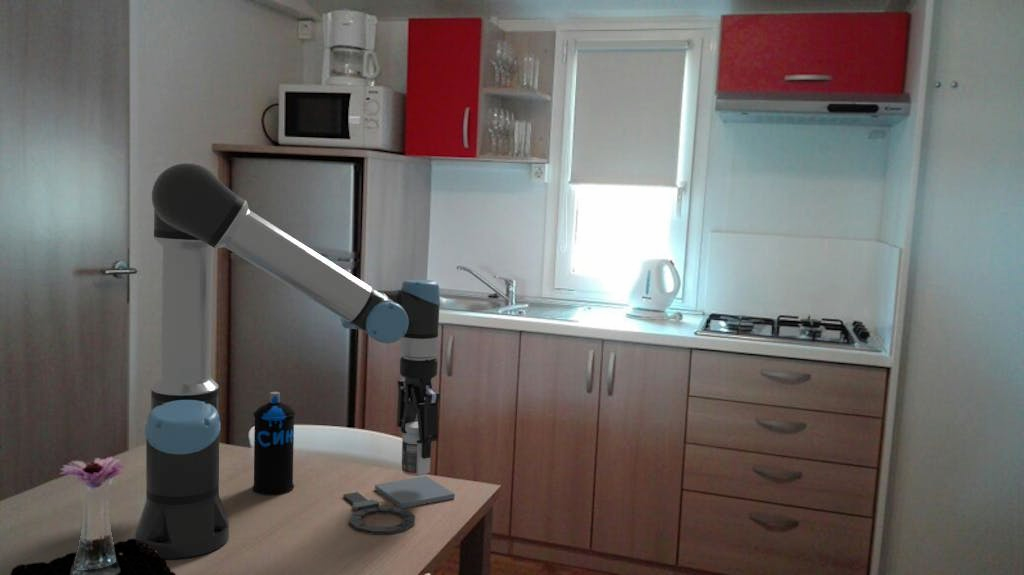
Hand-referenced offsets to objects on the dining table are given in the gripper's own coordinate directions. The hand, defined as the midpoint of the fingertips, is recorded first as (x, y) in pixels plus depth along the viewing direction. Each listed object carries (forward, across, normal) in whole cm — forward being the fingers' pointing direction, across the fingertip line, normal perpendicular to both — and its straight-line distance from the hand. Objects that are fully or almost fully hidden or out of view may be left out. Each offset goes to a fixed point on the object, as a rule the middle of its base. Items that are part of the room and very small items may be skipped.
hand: (415, 467), depth 174 cm
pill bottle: (+1, 0, 0) cm, 1 cm away
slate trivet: (+6, 0, 0) cm, 6 cm away
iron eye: (+6, -6, +12) cm, 14 cm away
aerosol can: (+6, +16, +24) cm, 29 cm away
